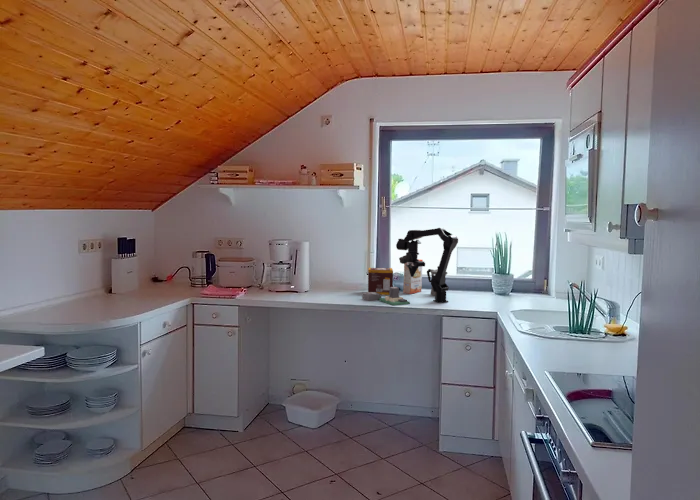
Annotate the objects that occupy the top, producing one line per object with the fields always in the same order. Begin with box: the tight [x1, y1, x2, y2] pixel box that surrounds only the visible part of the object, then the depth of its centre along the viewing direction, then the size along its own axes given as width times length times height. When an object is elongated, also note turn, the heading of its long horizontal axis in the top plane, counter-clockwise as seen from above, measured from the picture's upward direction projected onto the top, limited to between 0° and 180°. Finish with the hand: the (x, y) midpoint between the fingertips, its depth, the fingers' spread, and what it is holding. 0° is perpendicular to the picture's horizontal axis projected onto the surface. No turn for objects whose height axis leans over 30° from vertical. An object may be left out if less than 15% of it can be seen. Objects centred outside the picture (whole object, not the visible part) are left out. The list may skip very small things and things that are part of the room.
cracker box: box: [402, 258, 424, 295], centre depth 320 cm, size 14×6×21 cm, turn 143°
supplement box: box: [367, 267, 394, 296], centre depth 316 cm, size 10×15×16 cm
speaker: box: [361, 291, 382, 302], centre depth 295 cm, size 8×8×4 cm
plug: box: [388, 286, 400, 298], centre depth 288 cm, size 4×5×7 cm
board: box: [378, 295, 411, 306], centre depth 288 cm, size 16×11×3 cm
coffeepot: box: [426, 265, 448, 297], centre depth 313 cm, size 15×9×18 cm, turn 44°
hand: (412, 276), depth 303 cm, fingers closed
